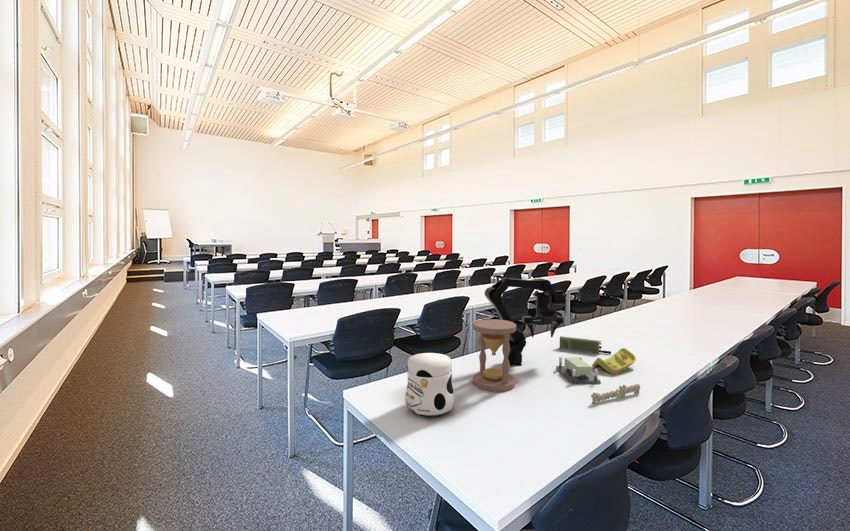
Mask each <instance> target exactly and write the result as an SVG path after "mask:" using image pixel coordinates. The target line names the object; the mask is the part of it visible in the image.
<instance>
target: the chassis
mask: <svg viewBox="0 0 850 531" xmlns="http://www.w3.org/2000/svg"><path fill="white" fill-rule="evenodd" d="M578 358H579V359H581V360H582V361H583V357H582V356H579V357H578ZM558 359H559V360H558V365H556V370H558V371H559V373H561V375H562V376H564V377H565V378H566V379H567V381H568V382H570V383H571V384H574V385H575V384H577V385H578V384H601V383H602V382H601V380H600V379H599V378H598V374H599V372H598V371H599V369H598V368H594V372H593V373H594V374H593V373H592V372H591V375H577V374H576V369H573V370H572V371H571V370H570V369H569V368H567V367H566V366H565V365H563V357H562V356H559V357H558Z"/></svg>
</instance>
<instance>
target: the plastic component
mask: <svg viewBox="0 0 850 531" xmlns="http://www.w3.org/2000/svg"><path fill="white" fill-rule="evenodd" d="M636 361H637V358H636V356H635V354H633V353H632V352H631V351H630V350H629V349H627V348H625V347H622V348H620V349H619V350H617V352H615V353H614V354H613V355H611V356H610V357H608V358H607V357H606V358H605V359H603V358H601V357H597V359H595V361H594V362H593V363H592V364H591V368H592V367H593V368H594V369H596V368H598V367H601V368H602V369H603V370H605V371H606V372H607V373H609V374H610V375H616V374H618V373H620V372H623V371H625V370H628V368H629V367H630V366H633V365H634V363H636Z"/></svg>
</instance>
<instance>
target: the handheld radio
mask: <svg viewBox="0 0 850 531" xmlns="http://www.w3.org/2000/svg"><path fill="white" fill-rule="evenodd" d="M560 348H561V349H560ZM602 348H603V347H602V340H596V339H589V338H580V337H571V336H570V337H569V336H563V335H561V336H560V337H559V349H560V350H568V351H574V350H575V351H576V352H582V351H583V352H582V353H590V352H591V353H592V354H597V353H598V354H601V353H602V354H609V355H612V351H611V350H602ZM591 353H590V354H591Z"/></svg>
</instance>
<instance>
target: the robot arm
mask: <svg viewBox="0 0 850 531" xmlns="http://www.w3.org/2000/svg"><path fill="white" fill-rule="evenodd" d="M510 287H511V288H525V289H532V290H535V292H533V293H532V296H534V297H536V305H535V309H536V311H535V312H536V313H535V317H532V316H531V315H522V316H521V322H522V323H523V324H525V325H527V328H528V329H529V332H530V335H531V338H534V324H533V322H540V323H541V324H543V325H548V324H549V325H550V338H553V337H554V334H555V332H556V329H557V328H558V327H559V326H561V325H562V324H564V322H565V319H564V317H562V316H561V315H558V314H557V313H556V312H551V308H550V305H552V306H555V305H557V306H558V305H559V306H560V305H561V306H562V305H565V304H566V302H567V297H566V294H565V293H564V292H565V291H564V290H559V289H558V290H555V289H554V287H553V286H552V283H551V281H550V280H549V279H544V278H533V279H523V278H509V277H502V278H501V279H500V280H499V281H497V282H496V283H494V284H492V285H491V286H489V287H488V288H486V289H485V290H484V297H486V299H487V301H489V303H491V305H492V306H493V307H494V309H495V311H496V312H497V314H498V316H499V318H500V320H506V321H510V322H513V320H512V318H511V317H510V314H509V313H508V311H507V309H506V307H505V304H504V302H503V297H502V295H503V294H504V293H505V292H506V291H507V290H508V289H509V288H510ZM509 345H510V352H509V356H508V360H509V364H510V366H522V365H523V354H522V353H523V351H524V348H525V347H526V346H527V338H526V336H525V335H524V332H523V331H522V330H521V329H519V328H516V331H515V332H513V333H510V334H509Z"/></svg>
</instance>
